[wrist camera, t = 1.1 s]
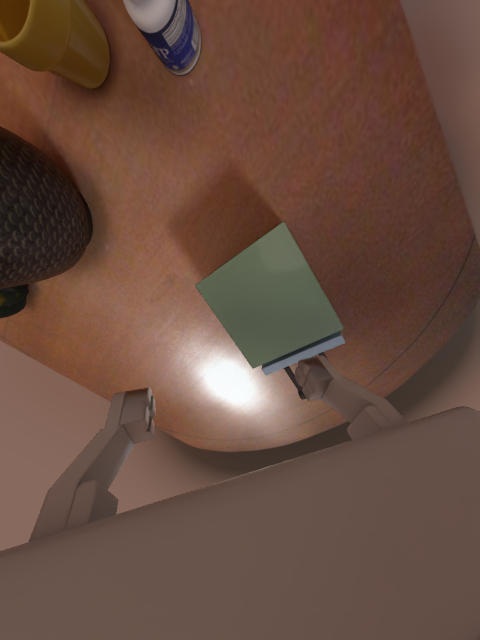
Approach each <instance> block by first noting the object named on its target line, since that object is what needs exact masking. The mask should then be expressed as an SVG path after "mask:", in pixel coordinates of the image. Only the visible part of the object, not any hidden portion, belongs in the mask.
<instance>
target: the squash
mask: <svg viewBox="0 0 480 640" xmlns="http://www.w3.org/2000/svg"><path fill="white" fill-rule="evenodd" d="M28 293H29V290H28V287H27V285H26V284H25V285H20V286H15V287H11V288H6V289H1V290H0V318H4V317H8V316H11V315H13V314H16V313H18V312H20V311H21V310H22V309H23V308H24V307H25V305H26V302H27V300H26V296H27V295H28Z"/></svg>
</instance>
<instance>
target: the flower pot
mask: <svg viewBox="0 0 480 640" xmlns="http://www.w3.org/2000/svg"><path fill="white" fill-rule="evenodd" d="M0 52H2V53H3V54H5V55H6V56H8V57H10V58H11V59H13V60H15V61H16V62H18V63H20V64H21V65H23V66H25V67H27V68H29V69H31V70H34V71H39V72H44V71H49V72H52V73H54V74H56V75H59V76H61V77H63V78H66V79H68V80H70V81H72V82H75V83H77V84H79V85H81V86H83V87H86V88H97V87H99V86H100V85H101V84H102V83H103V82H104V80H105V79H106V76H107V74H108V70H109V65H110V52H109V45H108V41H107V38H106V35H105V32H104V30H103V28H102V26H101V25H100V23H99V22H98V20H97V18H96V17H95V15H94V14H93V12H92V11H91V9H90V8H89V6H88V5H87V3H86V2H85V0H0Z"/></svg>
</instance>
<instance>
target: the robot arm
mask: <svg viewBox="0 0 480 640" xmlns="http://www.w3.org/2000/svg"><path fill="white" fill-rule="evenodd" d="M295 378H296V381H297V383H298V385H300V386H301V387H303V390H302V392H303V393H304V395H305V397H306V398H307V400H308V401H312V400H317V399H321V398H322V399H321V400H323V401H324V402H325V403H327V404H328V405H329V406H330V407H332V408H333V409H334V410H336V411H337V412H338V413H339V414H341V415H342V416H343V417H345V418H346V419H347V420H348V421H350V422H351V423H352V424H351V425H350V426H349V427H348V429H347V432H348V433H349V435H350V436H351V438H352V441H348V442H345V443H342V444H339V445H336V446H333V447H329V448H326V449H323V450H320V451H317V452H313V453H311V454H307V455H304V456H301V457H298V458H294V459H291V460H288V461H285V462H282V463H279V464H276V465H272V466H270V467H266V468H263V469H260V470H256V471H253V472H250V473H247V474H244V475H241V476H237V477H234V478H231V479H228V480H225V481H221V482H218V483H215V484H212V485H209V486H206V487H203V488H199V489H196V490H193V491H190V492H187V493H183V494H180V495H177V496H174V497H171V498H168V499H164V500H162V501H159V502H155V503H152V504H149V505H146V506H142V507H139V508H136V509H133V510H130V511H126V512H123V513H120V514H117V515H116V512H117V505H118V499H117V498H116V497H115V496H114V495H113V494H111V493H110V492H109V491H108V488H109V487H110V485H111V483H112V482H113V480H114V478H115V477H116V475H117V473H118V471H119V470H120V468H121V467H122V465H123V463H124V462H125V460H126V458H127V457H128V455H129V453H130V452H131V450H132V448H133V446H134V444H136V443H139V442H143V441H147V440H151V439H153V438H154V422H153V418H154V417H155V400H154V397H153V396H151V392H152V391H151V389H150V388H144V389H137V390H131V391H125V392H119V393H115V394H114V395H113V397H112V401H111V405H110V409H109V413H108V417H107V421H106V425H105V428H104V429H101V430H100V431H99V432H98V433H97V434H96V436H95V437H94V438H93V439H92V440H91V441H90V443H89V444H88V445H87V446H86V447H85V449H84V450H83V451H82V452H81V453H80V454H79V455H78V457H77V458H76V459H75V460H74V461H73V463H72V464H71V465H70V466H69V467H68V468H67V469H66V471H65V472H64V473H63V474H62V475H61V477H60V478H59V479H58V480H57V481H56V482H55V483H54V485H53V486H52V487H51V488H50V489H49V490H48V492H47V495H46V498H45V500H44V503H43V506H42V508H41V511H40V514H39V516H38V519H37V521H36V524H35V527H34V529H33V532H32V534H31V537H30V540H29V542H28V543H25V544H22V545H19V546H15V547H12V548H9V549H6V550H3V551H0V640H480V412H479V411H477V410H474V409H472V408H469V407H463V406H462V407H457V408H453V409H450V410H447V411H444V412H440V413H437V414H434V415H431V416H428V417H425V418H422V419H419V420H415V421H412V422H409V423H407V421H406V420H405V419H404V418H403V417H402V416H401V415H400V414H399V413H398V412H397V410H396V409H395V408H394V407H393V406H392V405H391V404H390V403H389V402H388V401H387V400H386V399H384V398H382V397H381V396H379V395H377V394H375V393H373V392H371V391H370V390H368V389H366V388H364V387H362V386H360V385H359V384H357V383H355V382H353V381H351V380H349V379H348V378H346V377H341V375H340V374H339V373H338V372H337V370H336V369H335V368H334V367H333V366H332V364H331V363H330V362H329V361H328V359H327V358H326V357H325V356H317V357H311V358H306V359H301V360H299V361H298V367H297V368H296V370H295Z"/></svg>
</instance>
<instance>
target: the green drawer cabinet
mask: <svg viewBox="0 0 480 640" xmlns="http://www.w3.org/2000/svg"><path fill="white" fill-rule="evenodd" d="M195 286H196V288H197V289H198V291H199V292H200V293H201V295H202V296H203V298H204V299H205V301H206V302H207V303H208V305H209V306H210V308H211V309H212V311H213V312H214V314H215V315H216V316H217V318H218V319H219V321H220V322H221V324H222V325H223V326H224V328H225V329H226V331H227V332H228V334H229V335H230V336H231V338H232V339H233V341H234V342H235V344H236V345H237V347H238V348H239V349H240V351H241V352H242V354H243V355H244V357H245V358H246V359H247V361H248V362H249V364H250V365H251V367H252V368H256V367H258V366H260V365H263V364H265V363H267V362H269V361H272V360H274V359H276V358H279V357H281V356H283V355H285V354H288V353H290V352H292V351H295V350H297V349H299V348H301V347H304V346H306V345H308V344H311V343H313V342H315V341H317V340H320V339H322V338H324V337H327V336H329V335H331V334H333V333H336V332H338V331H340V330H343V329H344V327H343V325H342V324H341V322H340V320H339V318H338V316H337V315H336V313H335V311H334V309H333V308H332V306H331V304H330V302H329V300H328V299H327V297H326V295H325V293H324V292H323V290H322V288H321V286H320V284H319V283H318V281H317V279H316V277H315V275H314V274H313V272H312V270H311V268H310V267H309V265H308V263H307V261H306V259H305V258H304V256H303V254H302V252H301V251H300V249H299V247H298V245H297V243H296V242H295V240H294V238H293V236H292V234H291V233H290V231H289V229H288V227H287V226H286V224H285V222H284V221H283V222H282V223H280V224H279V225H278V226H276V227H275V228H273V229H272V230H271V231H269V232H268V233H266V234H265V235H264V236H262V237H261V238H260V239H258V240H257V241H255V242H254V243H253V244H251V245H250V246H249V247H247V248H246V249H244V250H243V251H242V252H240V253H239V254H238V255H236V256H235V257H233V258H232V259H231V260H229V261H228V262H226V263H225V264H224V265H222V266H221V267H220V268H218V269H217V270H215V271H214V272H213V273H211V274H210V275H209V276H207V277H206V278H204V279H203V280H202V281H200V282H199V283H198V284H196V285H195Z"/></svg>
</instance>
